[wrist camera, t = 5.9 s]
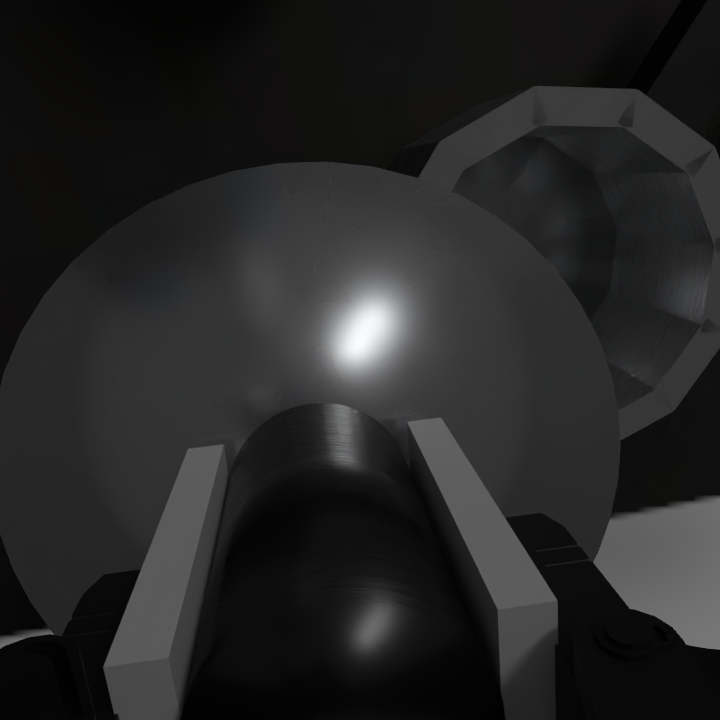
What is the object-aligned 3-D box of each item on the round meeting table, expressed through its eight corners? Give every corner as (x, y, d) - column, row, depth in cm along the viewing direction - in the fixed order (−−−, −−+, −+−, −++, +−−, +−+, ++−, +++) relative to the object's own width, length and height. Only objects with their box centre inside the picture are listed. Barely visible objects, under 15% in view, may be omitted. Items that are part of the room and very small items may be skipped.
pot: (275, 363, 31) (271, 426, 24) (591, -184, 26) (715, -327, 19) (497, 480, 34) (558, 569, 27) (817, 10, 29) (1004, -45, 22)
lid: (-66, 199, 13) (-559, 223, 6) (600, 132, 14) (963, 72, 7) (82, 750, 17) (-90, 1217, 9) (600, 666, 18) (830, 1026, 10)
